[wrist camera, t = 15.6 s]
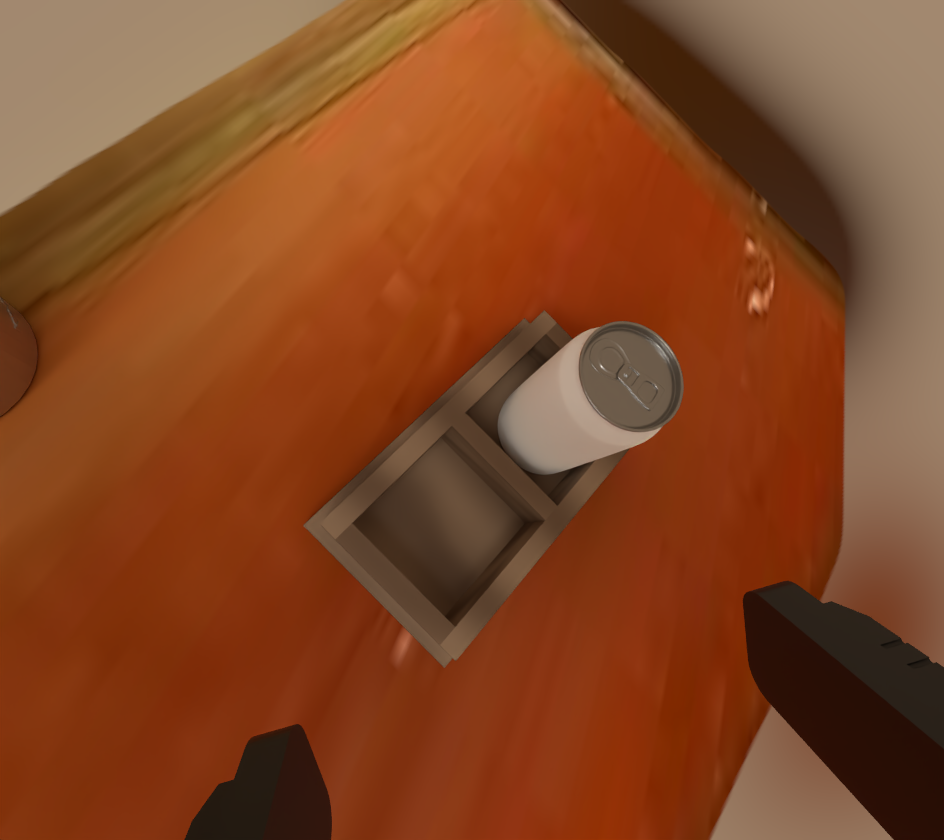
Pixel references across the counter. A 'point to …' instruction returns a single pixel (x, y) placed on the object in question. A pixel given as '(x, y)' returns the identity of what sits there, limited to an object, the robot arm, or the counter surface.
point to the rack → (457, 504)
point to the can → (592, 399)
